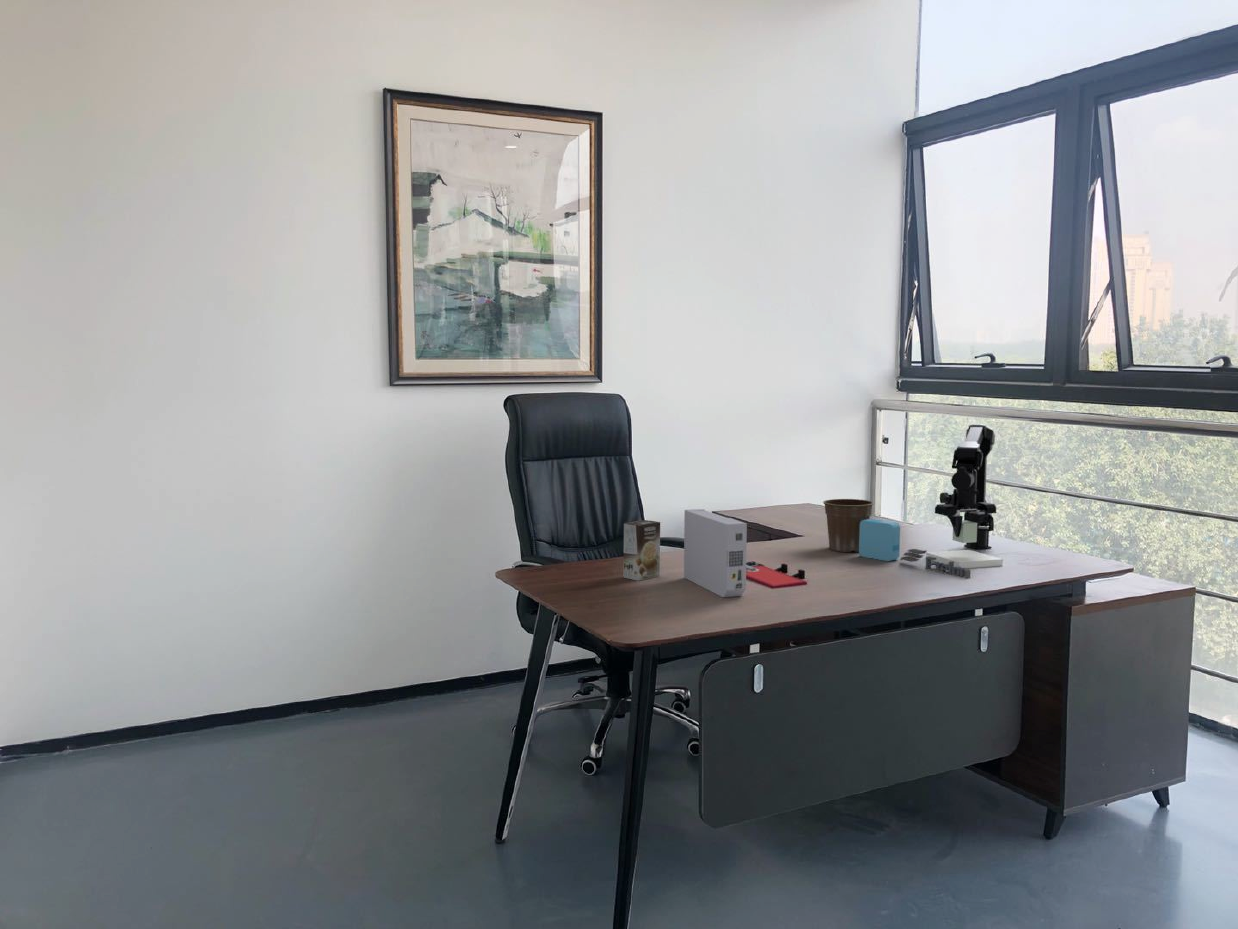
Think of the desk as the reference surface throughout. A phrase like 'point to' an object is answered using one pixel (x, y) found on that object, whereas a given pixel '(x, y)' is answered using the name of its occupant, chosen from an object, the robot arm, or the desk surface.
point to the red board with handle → (773, 575)
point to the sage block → (967, 532)
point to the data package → (879, 539)
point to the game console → (715, 552)
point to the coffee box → (641, 550)
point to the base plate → (965, 558)
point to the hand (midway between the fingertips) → (964, 536)
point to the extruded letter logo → (936, 564)
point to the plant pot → (846, 522)
